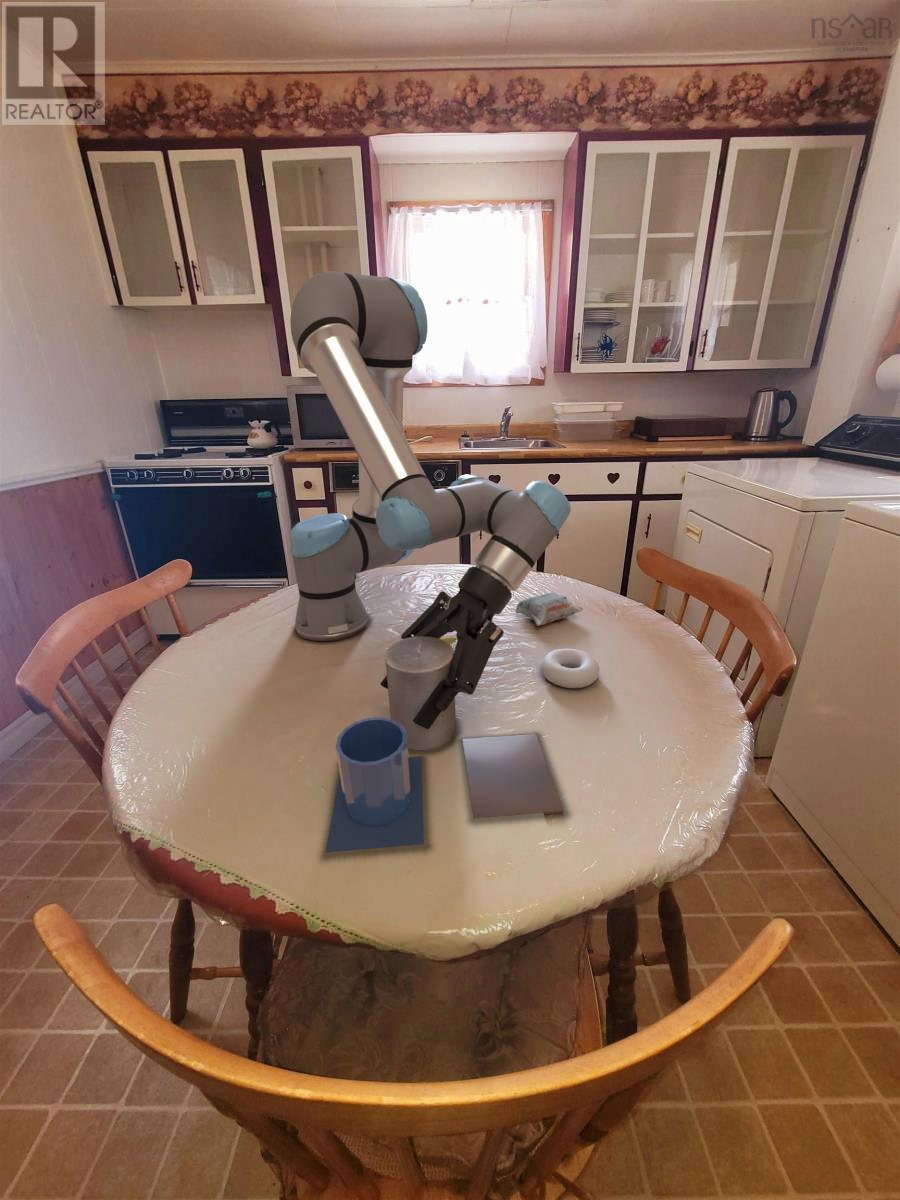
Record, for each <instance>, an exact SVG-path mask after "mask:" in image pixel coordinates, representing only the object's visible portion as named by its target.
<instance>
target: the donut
mask: <svg viewBox="0 0 900 1200" xmlns="http://www.w3.org/2000/svg"><path fill="white" fill-rule="evenodd" d="M540 663H541V664H540V668H541V673H542V675H543V676H544V677H545V679H546V680H548V681H549V682H551V683H552V684H554V685H556V686H559V687H561V688H566V689H580V688H581V689H582V688H585V687H588V686H590V685H592V684H594V683H595V681H596V680H597V679H598V678H599V675H600V665H599V663H598V661H597V660H596V659H595V657H593V656H592V655H591V654H589V653H588V652H585V651H583V650H580V649H577V648H558V649H554V650H552V651H550V652H548V653H546V655H544V657H543V658H542V661H541V662H540Z"/></svg>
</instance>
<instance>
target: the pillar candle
mask: <svg viewBox="0 0 900 1200" xmlns="http://www.w3.org/2000/svg"><path fill="white" fill-rule="evenodd" d="M454 651H455V650H454V648H453V646H452V645H451V644H448V643H447V642H445V641H443V640H442V639H438V638H434V637H427V636H419V637H418V636H417V637H410V638H405V639H399V640H398V641H396V642H394V643H393V644H391V645H390V646H389V647H388V648H387V650H386V652H385V658H384V659H385V660H384V661H385V672H386V675H387V682H388V689H387V692H388V703H389V714H390V719H392V720H394V721H396V722H398V723H399V724H401V725H402V726H403V728H404V729H405V731H406V732H407V743H408V749H410V750H415V751H416V750H417V751H425V750H432V749H436V748H439V747H440V746H441V747H442V746H443V745H444V744H446V743H448V742H449V741H450V740H451V739H452V738H453V736H454V734H455V732H456V730H457V719H456V717H457V716H456V697H455V698H454V699H453V701H452V702H451V704H450V705H449V706H448V708H447V709H446V710H445V711H441V713H440V714H439V715H438V717H437V718H436V720H435V721H434V723H433V724H432V725H431V727H430V728H429V730H428V729H426V728H424V727H421V726H419V725H417V724H415V723H414V722H413V719H414V718H415V717H416V715H417V714H418V712H419V711H420V709H421V708H422V707H423V705H424V704H425V702H426V701H427V700H428V698H429V697H430V695H431V694H432V693H433V691H434V690H435V688H436V687H437V685H438V684H439V683H440V681H442V682H443V680H447V677H448V673H449V670H450V666H451V662H452V659H453V655H454Z"/></svg>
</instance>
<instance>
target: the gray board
mask: <svg viewBox="0 0 900 1200" xmlns="http://www.w3.org/2000/svg"><path fill="white" fill-rule="evenodd" d="M461 742H462V748H463V755H464V762H465V770H466V776H467V783H468V790H469V797H470V798H469V799H470V804H471V811H472V818H473V819H479V818H480V819H481V818H491V817H492V818H493V817H494V818H495V817H504V816H505V817H506V816H517V815H529V814H542V813H543V816H546V815H547V816H550V815H559V814H560V815H561V814H562V815H563V814H564V812H565V811H564V808H563V805H562V801H561V798H560V796H559V793H558V791H557V788H556V784H555V783H554V780H553V777H552V774H551V772H550V771H551V770H550V767H549V766H548V763H547V760H546V757H545V753H544V752H543V749H542V746H541V743H540V740H539V738H538V734H537V733H528V734H514V735H501V736H499V735H498V736H487V737H485V736H483V737H469V738H461Z"/></svg>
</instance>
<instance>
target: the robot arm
mask: <svg viewBox="0 0 900 1200" xmlns="http://www.w3.org/2000/svg"><path fill="white" fill-rule="evenodd" d="M289 323H290V334H291V339H292V343H293V346H294V348H295V351H296V353H297V356H298V357H299V359H300V361H301V363H302V365H303V366H304V368H305V369H306V370H307V371H308V372H309V373H312V374H314V375H315V376H316V377H317V379H318V381H319V383H320V385H321V387H322V389H323V391H324V393H325V395H326V397H327V399H328V401H329V403H330V404H331V407H332V408H333V410H334V412H335V414H336V416H337V418H338V420H339V421H340V423H341V426H342V428H343V430H344V431H345V433H346V435H347V437H348V439H349V441H350V443H351V446H353V448H354V451H355V452H356V454H357V456H358V457H357V458H358V493H359V494H358V496H359V497H358V498H357V499H356V500H355V501H354V502H353V503H352V504H351V505H352V506H351V511H352V512H351V513H352V514H351V515H352V516H351V517H349V518H348V517H347V516H346V515H344V514H342V513H337V512H333V513H331V512H330V513H327V514H326V513H325V514H324V513H323V514H318V515H313V516H310V517H307V518H305V519H302V520H301V521H298V522H297V523H295V525H294V526H293V527H292V529H291V530H290V534H289V537H290V554H291V555H292V560H293V565H294V571H295V577H296V583H297V588H298V595H299V598H298V603H297V609H296V614H295V630H296V633H297V635H299V636H300V637H301V638H303V639H305V640H309V641H313V642H333V641H338V640H343V639H347V638H349V637H352V636H354V635H356V634H358V633H360V632H361V631H362V630H365V628H366V627H367V625H368V623H369V622H368V620H369V619H368V612H367V610H366V607H365V605H364V603H363V601H362V599H361V596H360V595H359V593H358V591H357V587H356V581H355V580H356V578H357V574H361V573H363V572H367V571H370V570H375V569H377V568H380V567H384V566H388V565H395V564H397V563H398V562H401V561H405V560H406V559H407V558H409V557H410V556H412V554H413V553H414V551H415V550H416V549H423V548H425V547H427V546H430V545H433V544H437V543H440V542H443V541H447V540H451V539H454V538H458V537H462V536H465V535H469V534H474V533H476V532H477V533H478V532H483V533H486V534H488V535H490V536H491V537H490V538H489V540H488V541H487V542H486V544H484V546H483V548H482V549H481V550H480V552H479V553H478V555H477V556H476V557H475V558H474V565H475V566H474V565H472V566H469V567H468V569H467V570H466V572H465V573H464V574H463V576H462V577H461V578H460V580H459V582H458V584H457V587H458V588H459V589H458V592H457V593H456V594H455V595H454V596H453V597H452V596H451V595H449V594H448V593H447V592H445V591H443V590H442V591H440V592H439V593H438V594H437V596H436V598H435V599H434V600H433V602H432V603H431V604H430V605H429V606H428V607H427V608H426V610H424V611H423V612H422V613H421V615H420V616H418V617H417V619H415V620H414V621H413V622H412V623H411V624H410V626H409V627H408V628H406V629H405V630H404V631H403V633H402V634H401V635H400V638H401V640H403V639H405V638H410V637H417V636H418V637H419V636H427V637H434V638H438V639H439V638H443V637H444V636H446V634H448V633H454V632H456V634H455V635H456V637H455V638H456V644H455V647H454V650H453V651H454V655H453V659H452V662H451V666H450V670H449V673H448V677H447V680H443V682H442V681H440V683H439V684H438V685H437V687H436V688H435V690H434V691H433V693H432V694H431V695H430V697H429V698H428V700H427V701H426V702H425V704H424V705H423V707H422V708H421V709H420V711H419V712H418V714H417V715H416V717H415V718H414V719H413V722H414V723H415V724H417V725H419V726H421V727H424V728H426V729H428V730H429V728H430V727H431V725H432V724H433V723H434V721H435V720H436V718H437V717H438V715H439V714H440V713H441V711H445V710H446V709H447V708H448V706H449V705H450V704H451V702H452V701H453V699H454V698H455V699H456V697H457V695H458V694H460V693H463V694H467V695H469V696H471V695H473V694H474V693H475V691H476V689H477V686H478V684H479V681H480V679H481V677H482V675H483V673H484V670H485V669H486V667H487V664H488V662H489V659H490V658H491V655H492V652H493V650H494V648H495V646H496V644H497V643H498V642H499V641H500V640H501V638H502V637H503V636H504V634H505V633H504V631H505V630H503V629H502V628H501V627H499V626H498V625H497V624H496V623H494V622H493V619H494V617H495V615H501V614H502V612H503V611H504V609H505V608H506V607H507V605H508V604H509V602H510V601H511V599H512V598H513V592H514V591H518V589H519V587H520V586H521V585H522V583H523V582H524V581H525V579H526V578H527V577H528V575H529V574H530V572H531V571H532V569H533V567H534V566H535V564H536V563H537V561H538V560H539V558H540V557H541V556H542V555H543V554H544V553H545V551H546V549H547V548H548V547H549V546H550V545H551V543H552V541H554V539H555V538H556V536H558V535H559V533H560V530H561V528H563V525H564V524H565V522H566V521H567V519H568V517H569V516H570V514H571V511H572V507H571V503H570V501H569V500H568V498H567V497H566V495H565V494H564V492H562V491H561V490H559V488H557V487H556V486H554V485H552V484H550V483H548V482H546V481H544V480H533V481H531V482H530V483H529V484H528V485H527V486H526V487H525V488H524V489H523V491H518V490H513V489H511V488H509V487H506V486H504V485H502V484H498V483H496V482H494V481H491V480H489V479H488V478H484V477H483V476H477V475H473V474H463V475H460V476H459V477H458V478H457V479H456V480H454V481H453V482H451V484H450V485H449V486H448V487H442V488H438V489H435V488H434V487H433V485H432V483H431V482H430V480H429V478H428V477H427V475H426V473H425V471H424V469H423V468H422V465H421V464H420V462H419V459H418V458H417V456H416V455H415V453H414V451H413V449H412V447H411V446H410V444H409V442H408V440H407V438H406V437H405V434H404V433H403V418H404V417H403V415H404V414H403V413H404V381H405V379H404V378H405V377H406V375H407V374H408V373H409V372H410V371H411V370H412V369H413V356H416V355H417V354H419V353H420V352H421V351H422V350H423V348H424V345H425V344H426V342H427V337H428V328H429V327H428V315H427V311H426V307H425V304H424V302H423V299H422V298H421V297H420V295H419V292H418V291H417V289H416V288H415V287H414V286H413V285H412V284H411V283H409V282H408V281H405V280H401V279H397V278H393V277H389V276H378V275H377V276H376V275H368V274H367V275H366V274H357V273H349V272H341V271H334V270H331V271H323V272H320V273H317V274H315V275H313V276H312V277H310V278H309V279H306V281H305V282H304V283H303V284H302V286H301V287H300V289H299V290H298V291H297V292H296V295H295V297H294V300H293V303H292V305H291V311H290V322H289ZM512 591H513V592H512ZM380 686H381V687H383V688H385V689H387V690H388V682H387V674H386V675H385V676H384V678H383V679H382V681H381V682H380Z"/></svg>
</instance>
